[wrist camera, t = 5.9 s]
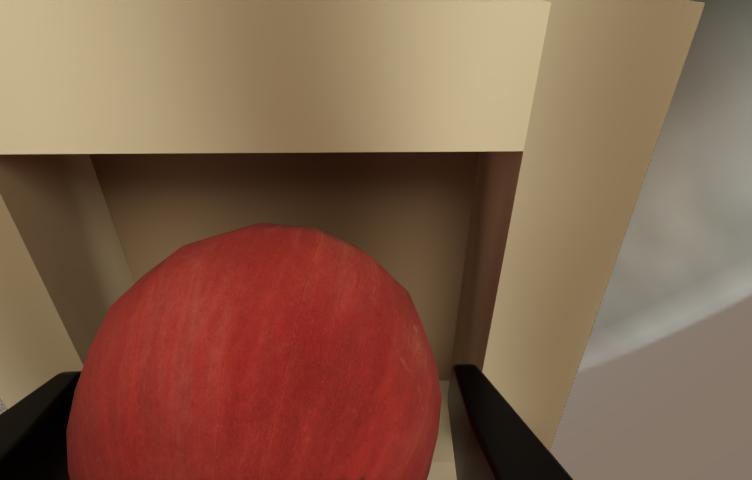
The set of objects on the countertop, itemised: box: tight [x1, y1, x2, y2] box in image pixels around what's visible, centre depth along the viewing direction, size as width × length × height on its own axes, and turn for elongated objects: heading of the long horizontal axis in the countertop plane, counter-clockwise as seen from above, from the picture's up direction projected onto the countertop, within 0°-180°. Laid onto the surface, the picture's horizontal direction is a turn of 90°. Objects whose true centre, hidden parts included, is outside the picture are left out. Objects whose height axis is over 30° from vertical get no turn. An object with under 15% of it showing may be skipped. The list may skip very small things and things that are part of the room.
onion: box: [66, 223, 442, 480], centre depth 8 cm, size 6×6×8 cm
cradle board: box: [0, 0, 705, 480], centre depth 11 cm, size 14×14×4 cm
